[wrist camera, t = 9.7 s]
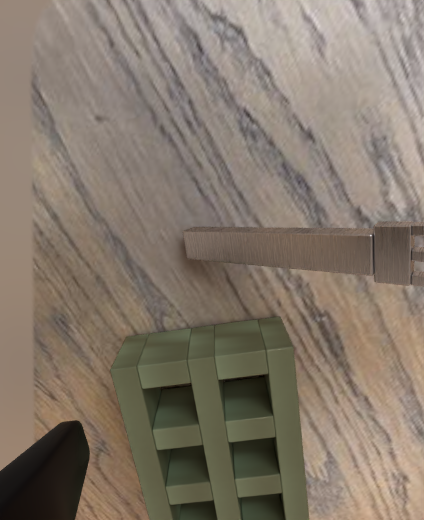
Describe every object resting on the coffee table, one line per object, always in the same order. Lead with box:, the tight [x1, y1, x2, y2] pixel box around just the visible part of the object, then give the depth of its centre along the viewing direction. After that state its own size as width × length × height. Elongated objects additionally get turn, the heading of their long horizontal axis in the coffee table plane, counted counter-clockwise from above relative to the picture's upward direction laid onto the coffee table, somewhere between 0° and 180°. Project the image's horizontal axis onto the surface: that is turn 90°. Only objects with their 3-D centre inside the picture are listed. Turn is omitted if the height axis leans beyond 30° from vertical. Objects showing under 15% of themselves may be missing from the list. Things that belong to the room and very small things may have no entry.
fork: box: [183, 221, 424, 286], centre depth 15 cm, size 1×2×13 cm
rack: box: [110, 317, 309, 520], centre depth 21 cm, size 9×13×4 cm
